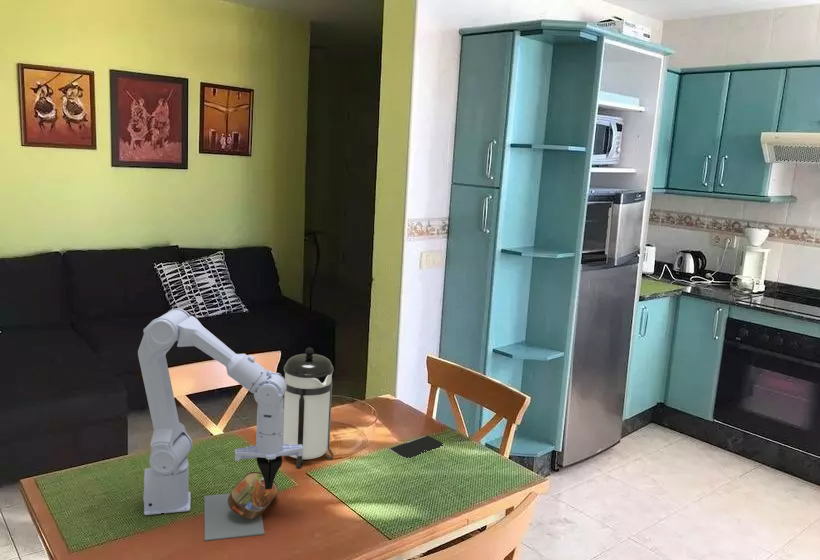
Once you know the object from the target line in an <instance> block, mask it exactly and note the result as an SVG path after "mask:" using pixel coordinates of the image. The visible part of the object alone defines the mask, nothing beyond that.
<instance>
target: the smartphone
mask: <svg viewBox="0 0 820 560" xmlns="http://www.w3.org/2000/svg"><path fill="white" fill-rule="evenodd" d="M442 444H443V442H442V441H439V440H438V439H435V438H434V437H432V436H429V435H424V436H422V437H419V438H416V439H413V440H410V441H407V442H405V443H402V444H398V445H396V446H393V447H390V448H389V449H388V451H389V450H390V451H392V452H394V453H396V454H398V455H400V456H402V457H406V458H408V457H409V458H411V457H413V456H414V457H415V456H417V455H419V454H420V455H421V452H422V453H424V452H425V453H426V452H427V451H430V450H431V451H432V449H436V448H440V446H443V445H442ZM424 450H425V451H424ZM426 450H427V451H426ZM390 451H389V452H390ZM392 452H391V453H392ZM394 453H393V454H394Z"/></svg>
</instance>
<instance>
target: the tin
mask: <svg viewBox="0 0 820 560" xmlns="http://www.w3.org/2000/svg"><path fill="white" fill-rule="evenodd" d="M278 494H279V487H278V484H277V483H276V481H275V480H274V481H273V485H272V489H267V490H266V489H265V483H264V478H263V475H262V473H261V471H250V472H247V473H246V474H245V475H244V476H243V478H242V479H240V480H239V481H238V482H237V483H236V484H235V486H233V487H232V489H231V492H230V495H229V497H228V505H229V507H230V509H231V510H233V511H234V512H235V513H237V514H238V515H240V516H242V517H243V518H246V519H255V518H258V517H259V516H260V515H262V513H264V511H265V510H266V509H267V508H268V507H269V505H270V504H271V503H273V501H274V499H276V496H277V495H278Z"/></svg>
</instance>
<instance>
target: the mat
mask: <svg viewBox="0 0 820 560" xmlns="http://www.w3.org/2000/svg"><path fill="white" fill-rule="evenodd" d="M230 493H231V492H230ZM230 493H221V494H220V493H219V494H207V495H203V499H204V500H203V501H204V503H203V504H204V505H203V506H204V507H203V508H204V512H203V513H204V542H208V541H210V542H211V541H218V540H227V539H236V538H245V537H253V536H255V537H256V536H261V535H262V536H264V535H265V529H264V528H265V527H264V522H263V516H262V514H261V515H260V516H259V517H258V518H255V519H246V518H243V517H242V516H240V515H238V514H237V513H235V512H234V511H233V510H231V509H230V507H229V505H228V497H229V495H230Z"/></svg>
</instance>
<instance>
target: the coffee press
mask: <svg viewBox="0 0 820 560" xmlns="http://www.w3.org/2000/svg"><path fill="white" fill-rule="evenodd" d="M334 368H335V367H334V366H333V364H332V362H331V360H330V359H329V358H327V357H326V356H324V355H321V354H317V353H315V351H314V348H312V347H307V348H306V349H305V351H304V353H301V354H296V355H293V356H291V357H290V358H288V360H287V361H286V363H285V364H284V365H283V371H284V376H283V378H284V379H285V380H286V383H287V389H286V392H285V394H284V395H283V398H284V406H283V408H284V421H283V444H295V445H299V444H302V447H303V456H298V455H292V456H290V457H291V458H293V459H296V463H295V468H299V469H302V467H303V463H304V460H312V459H317V458H320V457H322V456H324V457H325V458H326V459H327V460H329V461H331V460H332V459H333V458H334V453H333V451H332V449H331V448H330V447H331V446H330V445H331V443H330V441H331V421H332V420H331V418H332V416H331V415H332V396H333V392H332V391H333V377H332V376H333V373H334V371H335V370H334ZM327 451H328V453H329V454H330V455H328V453H327Z"/></svg>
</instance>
